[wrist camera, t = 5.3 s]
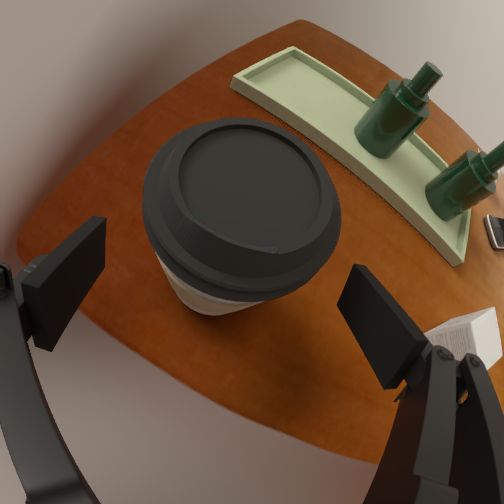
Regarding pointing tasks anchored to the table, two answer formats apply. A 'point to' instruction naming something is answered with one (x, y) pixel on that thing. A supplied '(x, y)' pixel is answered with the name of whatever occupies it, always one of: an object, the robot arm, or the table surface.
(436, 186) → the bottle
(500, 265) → the table surface
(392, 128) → the bottle mid
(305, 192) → the coffee cup
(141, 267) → the table surface
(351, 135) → the tray
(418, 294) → the table surface
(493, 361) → the product box
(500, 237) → the cell phone
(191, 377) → the table surface
